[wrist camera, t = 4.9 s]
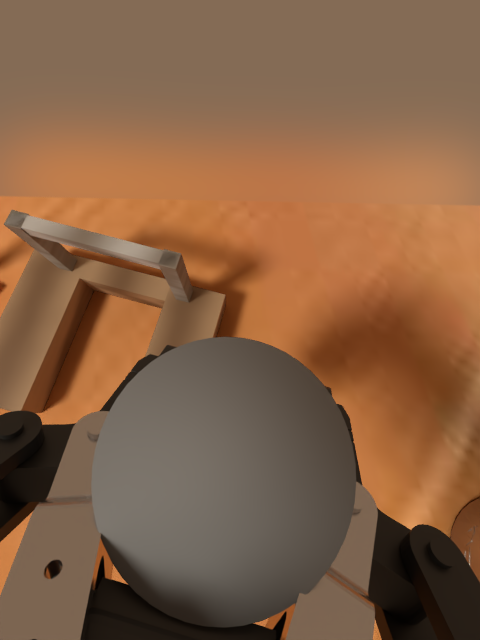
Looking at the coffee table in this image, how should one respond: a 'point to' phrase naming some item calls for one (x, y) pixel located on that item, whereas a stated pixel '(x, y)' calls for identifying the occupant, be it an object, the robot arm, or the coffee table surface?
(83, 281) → the wooden gate frame
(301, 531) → the grey tapered capsule
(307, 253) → the coffee table surface
